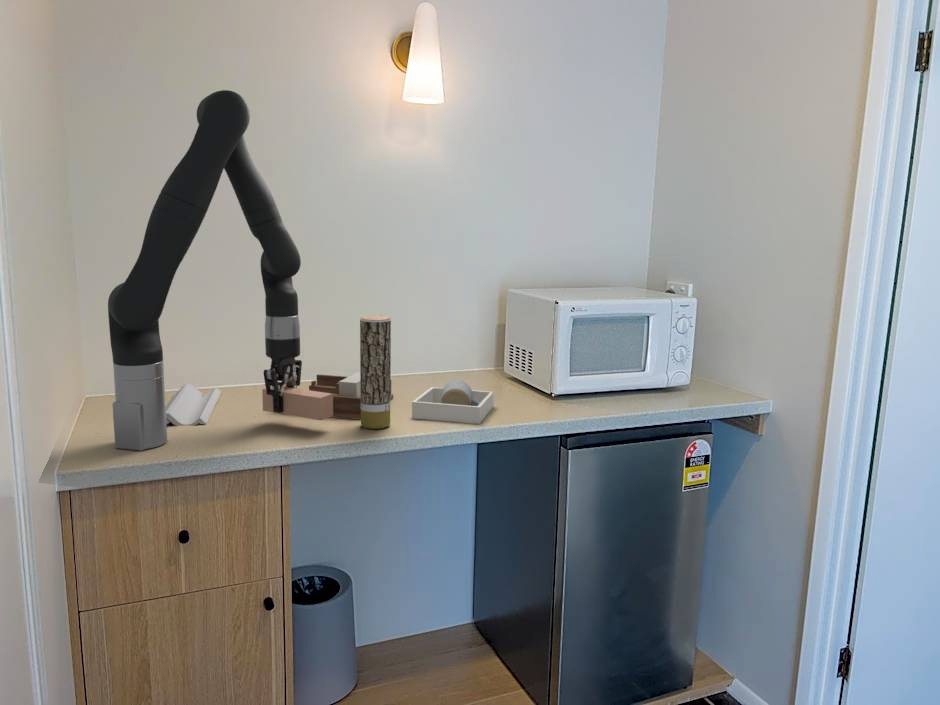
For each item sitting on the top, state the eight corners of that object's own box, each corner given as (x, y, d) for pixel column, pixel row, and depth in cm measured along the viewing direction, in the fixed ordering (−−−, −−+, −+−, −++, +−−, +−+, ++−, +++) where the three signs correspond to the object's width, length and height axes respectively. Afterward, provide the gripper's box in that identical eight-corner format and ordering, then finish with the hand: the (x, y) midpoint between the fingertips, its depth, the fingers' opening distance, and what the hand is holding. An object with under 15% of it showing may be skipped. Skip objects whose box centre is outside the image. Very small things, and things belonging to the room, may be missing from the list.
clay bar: (333, 415, 161) (332, 393, 160) (320, 420, 157) (320, 397, 156) (276, 406, 168) (275, 385, 167) (263, 410, 164) (262, 389, 163)
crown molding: (205, 427, 164) (204, 412, 163) (149, 430, 161) (148, 414, 160) (220, 395, 194) (220, 381, 193) (173, 396, 191) (172, 383, 190)
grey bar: (356, 403, 174) (356, 382, 173) (339, 401, 175) (338, 381, 174) (379, 388, 189) (379, 370, 188) (363, 387, 190) (363, 369, 189)
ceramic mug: (439, 416, 175) (441, 386, 173) (441, 408, 183) (442, 378, 181) (483, 418, 175) (485, 388, 173) (483, 410, 183) (484, 380, 181)
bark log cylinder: (362, 430, 162) (362, 320, 157) (358, 422, 168) (358, 316, 164) (392, 429, 163) (393, 319, 159) (387, 421, 170) (387, 315, 165)
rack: (362, 419, 171) (362, 398, 170) (277, 411, 176) (277, 391, 175) (393, 398, 192) (393, 379, 191) (316, 392, 197) (316, 374, 196)
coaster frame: (479, 423, 169) (480, 407, 169) (411, 418, 173) (412, 401, 172) (493, 406, 185) (493, 391, 185) (431, 401, 189) (431, 387, 188)
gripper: (282, 341, 153) (284, 418, 156) (312, 331, 167) (313, 403, 170) (250, 339, 155) (253, 415, 158) (282, 329, 169) (284, 400, 172)
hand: (284, 408), depth 164 cm, fingers closed on clay bar, 5 cm apart
